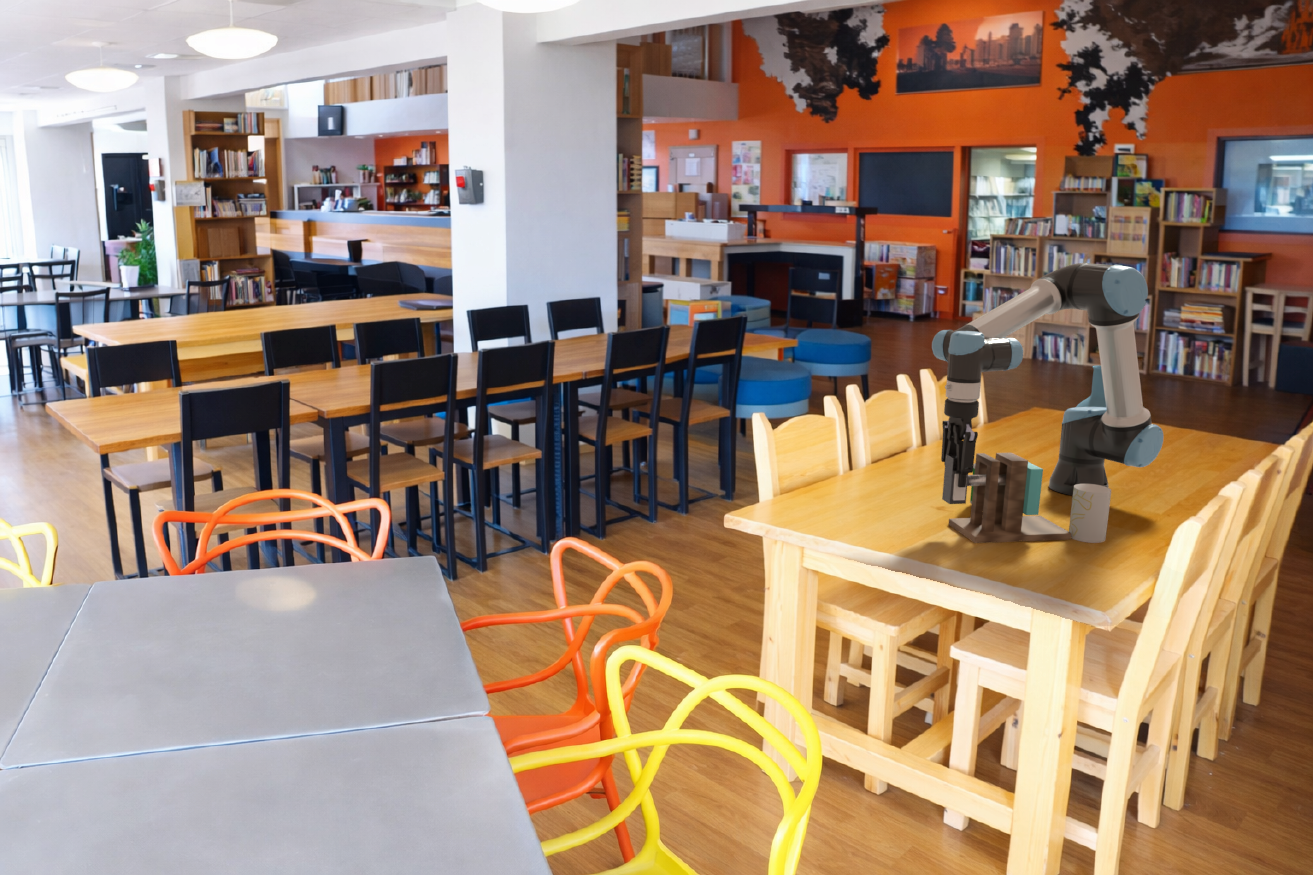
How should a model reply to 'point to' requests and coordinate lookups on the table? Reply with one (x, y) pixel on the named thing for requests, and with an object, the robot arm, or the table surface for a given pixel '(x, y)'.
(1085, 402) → the vase
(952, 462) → the shaft
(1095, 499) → the cup
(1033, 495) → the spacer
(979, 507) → the stand
